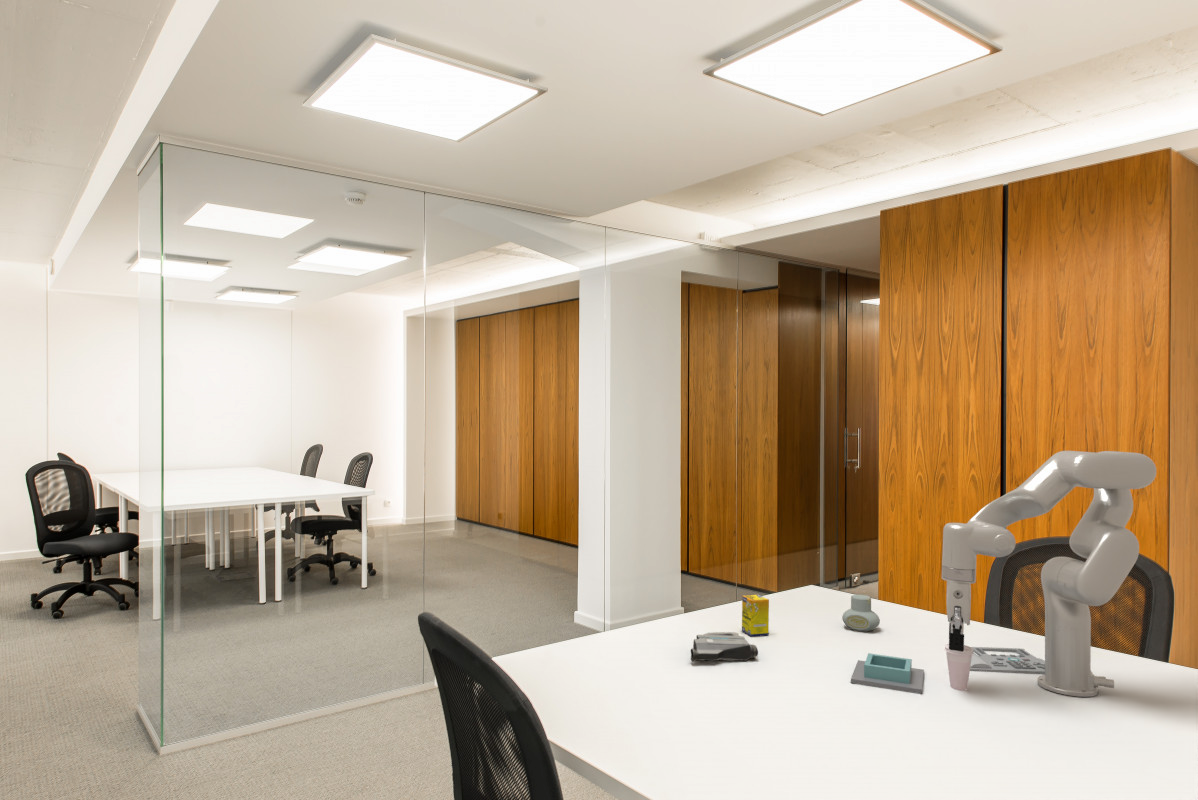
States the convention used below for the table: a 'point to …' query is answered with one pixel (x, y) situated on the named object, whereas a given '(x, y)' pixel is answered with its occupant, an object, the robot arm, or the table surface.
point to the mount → (888, 673)
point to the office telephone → (1006, 661)
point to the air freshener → (861, 614)
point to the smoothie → (959, 667)
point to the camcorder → (722, 647)
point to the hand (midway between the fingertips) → (956, 645)
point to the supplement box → (755, 615)
